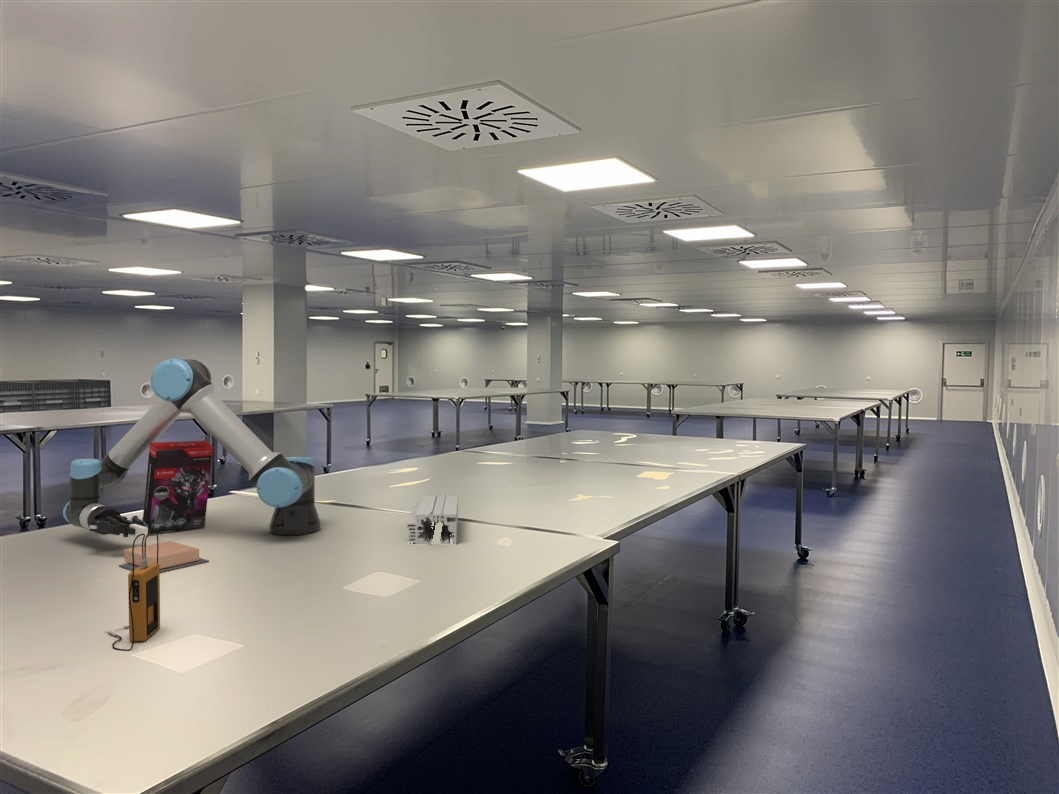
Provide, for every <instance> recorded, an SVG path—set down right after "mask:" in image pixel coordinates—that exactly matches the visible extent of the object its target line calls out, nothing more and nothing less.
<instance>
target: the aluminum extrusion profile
mask: <svg viewBox="0 0 1059 794" xmlns="http://www.w3.org/2000/svg"><path fill="white" fill-rule="evenodd" d="M458 500H459V495H446V493H443V494H442V495H437V493H435V492H434V495H422V496H421V499H420V501H419V502H418V503H414V504H413V507H412V509H411V512H410V515H409V517H408V520H407V521H406V528H407V529H408V532H409V534H408V537H407V539H406V543H407V542H413V544H431V542H432V539H433V535H434V530H435V525H436V522H443V526H442V532H441V539H440V542H441V544H450V539H452V540H453V544H456V545H457V541H458V538H457V537H458V526H459V525H458V524H459V503H458V502H459V501H458ZM442 518H443V521H442ZM433 521H435V522H434V526H431V525H432V522H433ZM431 527H433V529H432V528H431ZM450 535H451V536H450ZM428 539H429V540H428ZM410 544H411V543H410Z"/></svg>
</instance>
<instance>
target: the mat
mask: <svg viewBox="0 0 1059 794" xmlns="http://www.w3.org/2000/svg"><path fill="white" fill-rule="evenodd" d="M206 562H207V563H210V560H209V559H205V558H202V557H199V560H197V561H193V562H188V563H184V564H180V565H175V566H171V567H166V568H162V569H160V574H163V573H162V572H164V573H167V572H166V571H168V572H171V570H172V571H175V569H177V570H180V569H179V568H181V569H184V568H183V567H185V568H189V567H193V565H194V566H197V564H198V565H202V564H206ZM188 566H189V567H188ZM118 567H119V568H122V569H125V570H127V571H130V572H131V571H133V564H131V563H128V562H126V563H123V564H119V565H118ZM138 567H140V566H137V565H134V570H135V569H137V568H138Z"/></svg>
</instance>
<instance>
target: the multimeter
mask: <svg viewBox="0 0 1059 794" xmlns="http://www.w3.org/2000/svg"><path fill="white" fill-rule="evenodd" d="M152 530H155V531H156V533H155V535H156V544H157V563H147V559H146V546H147V539H148V538H147V537H148V536H149V535H150V534H151V533H150V532H151V531H152ZM149 533H150V534H149ZM141 535H144V536H143V539H141V540H142V541H141V547H142V560H141V566H140V567H138V568H137V569H135V570H134V548H135V544H136V541H137V539H139V538H138V537H139V536H141ZM158 543H159V533H158V532H157V530H156V529H155V528H153V529H151V530H150V531H149V532H148V534H147V536H146V538H145V534H140V535H138V536H137V537H134V539H133V543H132V547H131V549H132V560H133V571H130V572H128V577H127V579H128V580H127V581H128V582H127V587H128V593H127V595H128V597H127V598H128V625H124V626H123V627H121V628H115V630H114V631H120V630H123V629H124V630H126V629H128V635H129V636H128V639H129V642H131V647H130V648H118V647H115V644H117V643H118V642H119V641H121V640H122V639H123V637H122V636H120V635H118V634H117V633H116V632H113V631H111V630H107V629H106V630H104V632H106V633H107V634H109V635H111V636H113V637H116V638H119V639H117V640H115V641H114V642H112V649H115V650H117V651H123V652H124V651H125V652H129V651H131V650H132V649H133V647H134V644H135V642H146V641H147V640H148V639H149V638H150V637H151V636H153V634H154V633H156V632H158V631H159V630H160V628H161V582H160V581H161V580H160V579H161V578H160V574H161V573H160V568H159V563H158V547H159V546H158ZM143 546H144V553H143Z"/></svg>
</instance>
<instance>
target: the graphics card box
mask: <svg viewBox="0 0 1059 794" xmlns="http://www.w3.org/2000/svg"><path fill="white" fill-rule="evenodd" d="M148 449H149V450H148V462H147V472H146V473H147V474H146V484H145V491H144V492H145V493H144V502H143V504H144V505H143V512H142V513H143V515H142V521H143V522H144V527H147V528H148V532H149V531H150V530H151V529H153V528H155V529H156V530H157V532H158V534H159V533H167V532H173V531H183V530H191V529H199V528H205V525H206V517H207V508H208V498H209V490H210V489H209V488H210V479H211V478H210V477H211V470H212V460H213V453H214V452H213V451H214V446H213V445H212V444H211V443H210V442H208V441H207V440H205V439H204V440H195V441H194V440H192V441H190V440H188V441H187V440H186V441H155V442H150V447H149V448H148ZM151 534H156V531H155V530H152V531H151V532H150V533H149V535H151Z"/></svg>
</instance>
